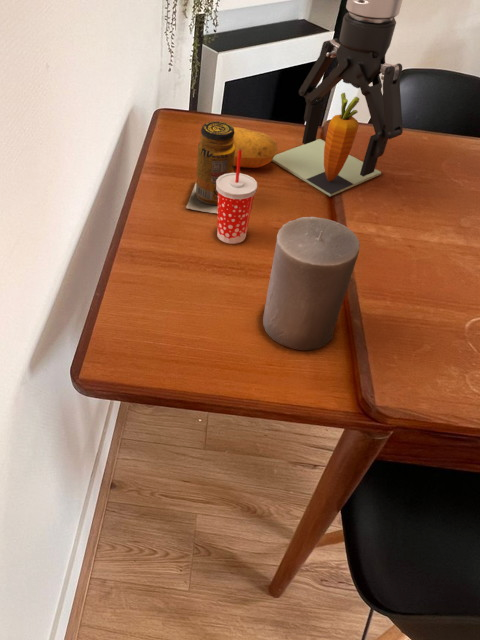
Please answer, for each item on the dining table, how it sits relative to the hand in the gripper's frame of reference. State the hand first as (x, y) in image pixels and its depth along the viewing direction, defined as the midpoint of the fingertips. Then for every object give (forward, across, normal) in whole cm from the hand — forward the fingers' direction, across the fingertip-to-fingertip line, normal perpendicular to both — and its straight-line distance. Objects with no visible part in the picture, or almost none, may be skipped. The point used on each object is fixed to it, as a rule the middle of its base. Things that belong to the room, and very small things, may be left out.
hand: (336, 157), depth 92 cm
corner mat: (+5, -5, +4) cm, 8 cm away
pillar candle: (+5, +23, -31) cm, 39 cm away
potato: (+5, -15, -9) cm, 18 cm away
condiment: (+5, -8, -21) cm, 23 cm away
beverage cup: (+5, +2, -25) cm, 26 cm away
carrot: (+5, 0, 0) cm, 5 cm away
